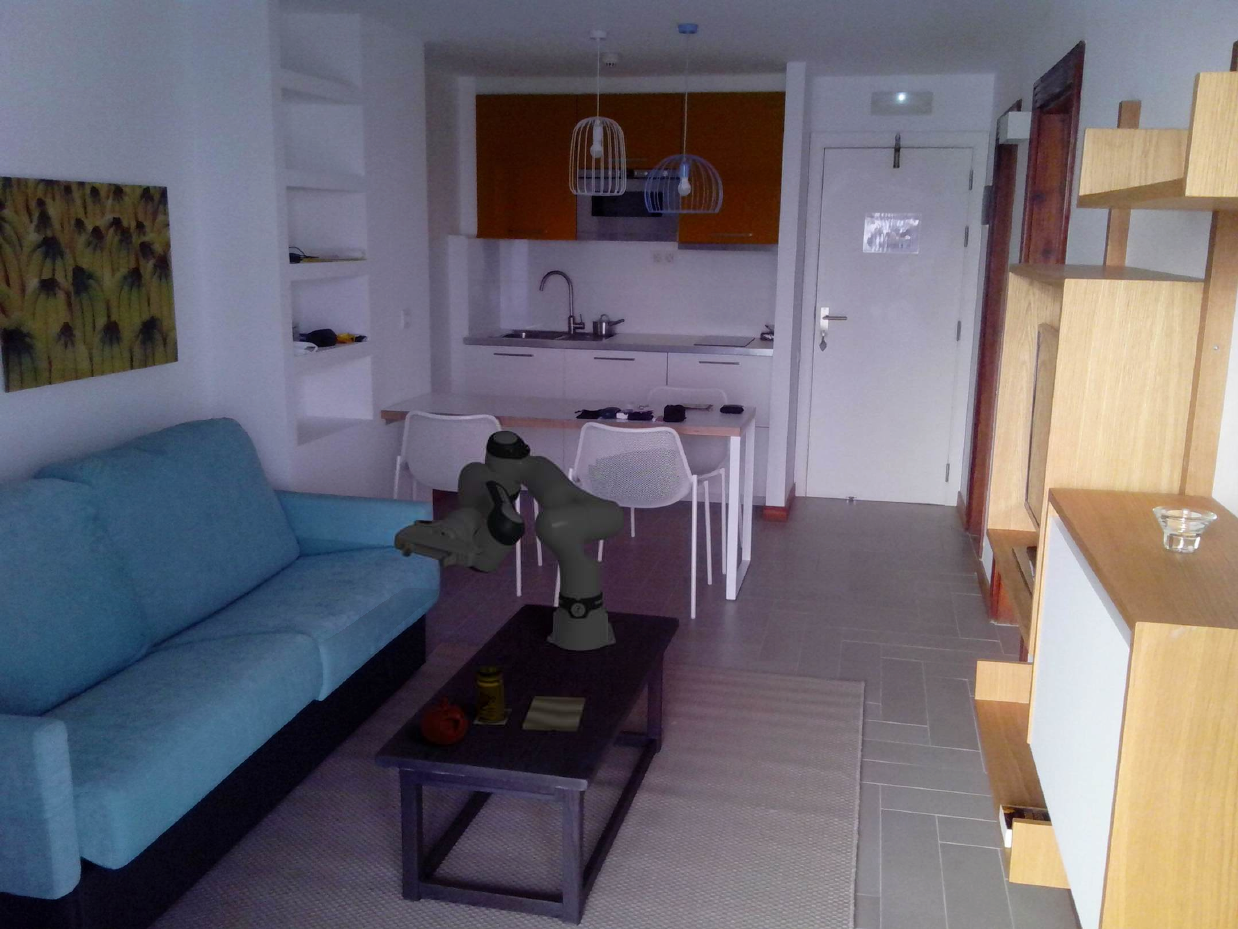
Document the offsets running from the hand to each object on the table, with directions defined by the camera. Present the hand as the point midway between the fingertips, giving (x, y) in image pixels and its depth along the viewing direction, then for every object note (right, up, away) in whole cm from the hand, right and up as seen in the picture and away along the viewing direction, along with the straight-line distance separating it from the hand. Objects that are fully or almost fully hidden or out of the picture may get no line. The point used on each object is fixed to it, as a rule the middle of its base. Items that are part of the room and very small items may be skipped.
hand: (423, 558), depth 245 cm
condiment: (+17, -36, -7) cm, 40 cm away
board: (+31, -35, -6) cm, 47 cm away
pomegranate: (+8, -38, -18) cm, 42 cm away
